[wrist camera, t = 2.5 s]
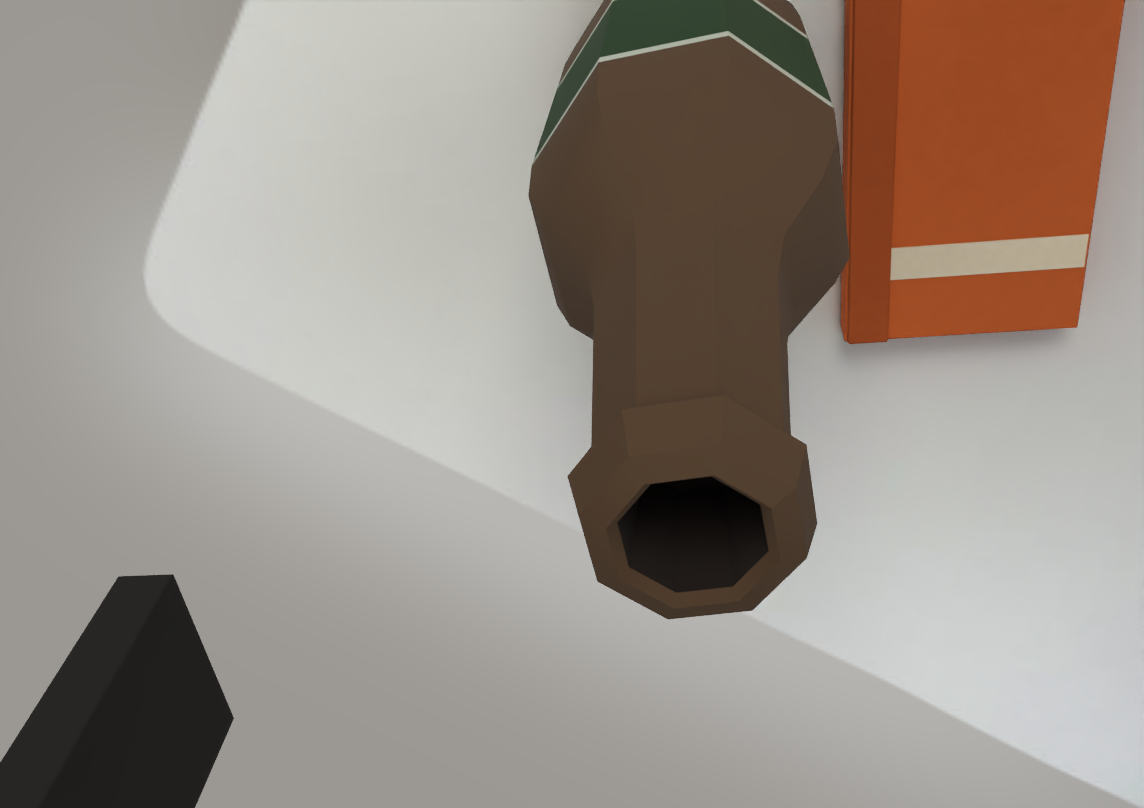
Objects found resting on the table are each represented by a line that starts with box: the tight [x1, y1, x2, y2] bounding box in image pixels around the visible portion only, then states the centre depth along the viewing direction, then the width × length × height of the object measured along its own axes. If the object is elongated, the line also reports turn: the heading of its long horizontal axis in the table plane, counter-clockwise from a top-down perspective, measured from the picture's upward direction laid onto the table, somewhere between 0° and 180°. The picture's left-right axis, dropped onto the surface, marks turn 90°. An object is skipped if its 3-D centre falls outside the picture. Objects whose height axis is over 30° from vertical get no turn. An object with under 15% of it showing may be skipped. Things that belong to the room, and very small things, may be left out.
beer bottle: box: [529, 0, 850, 619], centre depth 25 cm, size 8×8×24 cm
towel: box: [841, 0, 1125, 344], centre depth 34 cm, size 20×8×1 cm, turn 7°
